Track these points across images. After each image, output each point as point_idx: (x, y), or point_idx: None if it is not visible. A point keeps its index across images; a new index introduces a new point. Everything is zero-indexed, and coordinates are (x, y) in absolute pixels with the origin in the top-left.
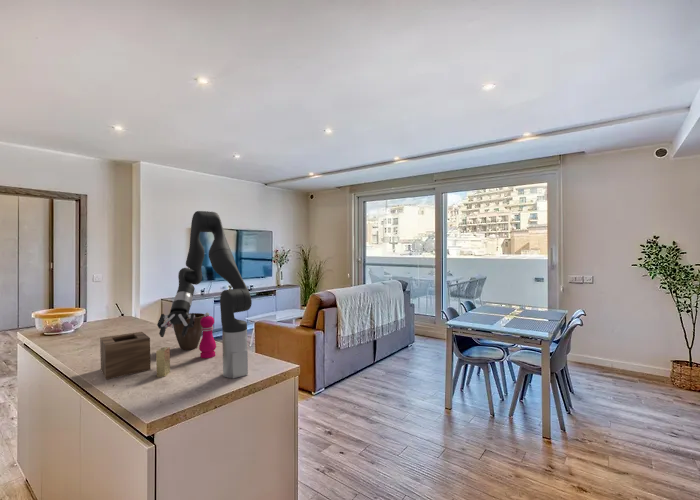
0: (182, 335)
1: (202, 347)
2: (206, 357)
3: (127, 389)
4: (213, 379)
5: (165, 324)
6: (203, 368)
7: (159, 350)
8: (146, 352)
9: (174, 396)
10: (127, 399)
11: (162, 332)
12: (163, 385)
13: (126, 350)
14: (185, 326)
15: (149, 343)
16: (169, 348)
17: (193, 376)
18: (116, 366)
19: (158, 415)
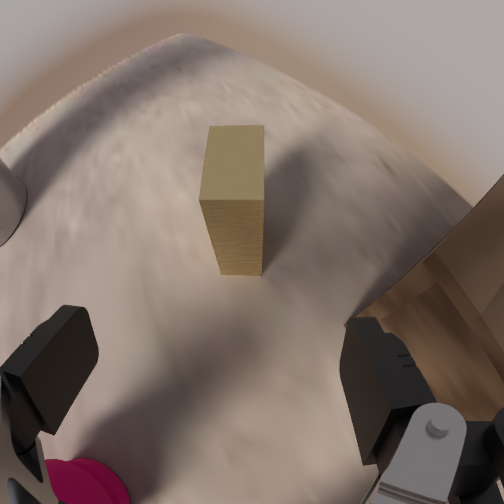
0: (89, 328)
1: (74, 475)
2: (87, 459)
3: (313, 127)
4: (53, 176)
5: (398, 456)
6: (76, 296)
7: (248, 135)
8: (397, 282)
9: (153, 86)
10: (271, 79)
11: (359, 336)
12: (201, 139)
13: (478, 203)
14: (4, 383)
15: (412, 270)
16: (200, 202)
17: (108, 205)
18: (459, 222)
19: (172, 41)
